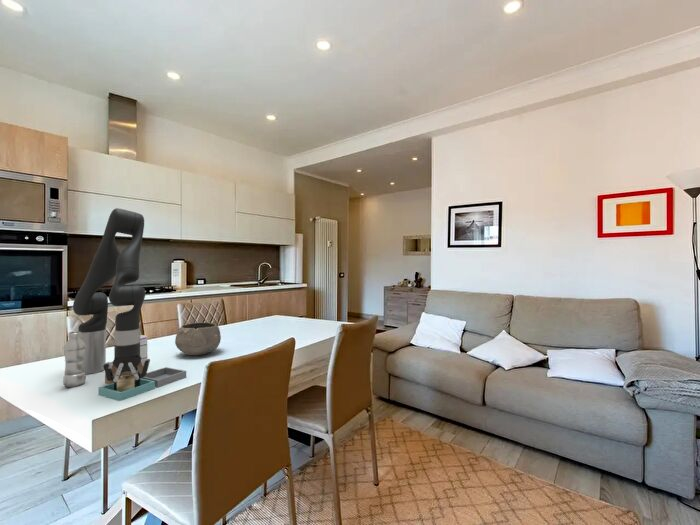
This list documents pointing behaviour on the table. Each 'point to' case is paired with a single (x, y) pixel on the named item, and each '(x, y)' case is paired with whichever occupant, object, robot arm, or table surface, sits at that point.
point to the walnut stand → (122, 372)
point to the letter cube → (125, 383)
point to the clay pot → (198, 338)
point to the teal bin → (111, 393)
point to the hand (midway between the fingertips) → (127, 390)
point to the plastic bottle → (74, 360)
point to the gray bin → (165, 376)
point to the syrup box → (143, 347)
